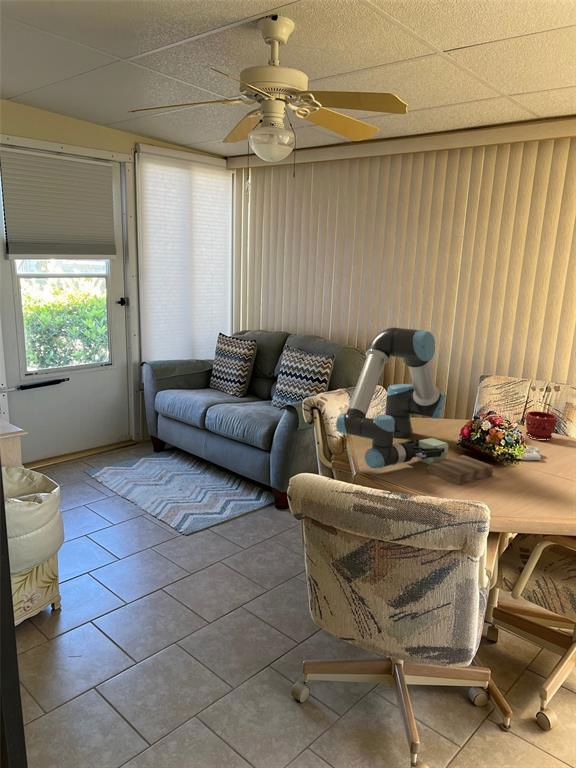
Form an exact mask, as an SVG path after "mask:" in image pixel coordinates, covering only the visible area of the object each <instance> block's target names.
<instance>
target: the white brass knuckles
mask: <svg viewBox="0 0 576 768" xmlns="http://www.w3.org/2000/svg"><path fill="white" fill-rule="evenodd" d="M525 446H526V452H525V454H524V456H523V458H522V460H521V461H532V460H540V461H541V460H542V456H541V455H540V449H539V448H538V447H535V446H529V445H528V446H527V445H525Z"/></svg>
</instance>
